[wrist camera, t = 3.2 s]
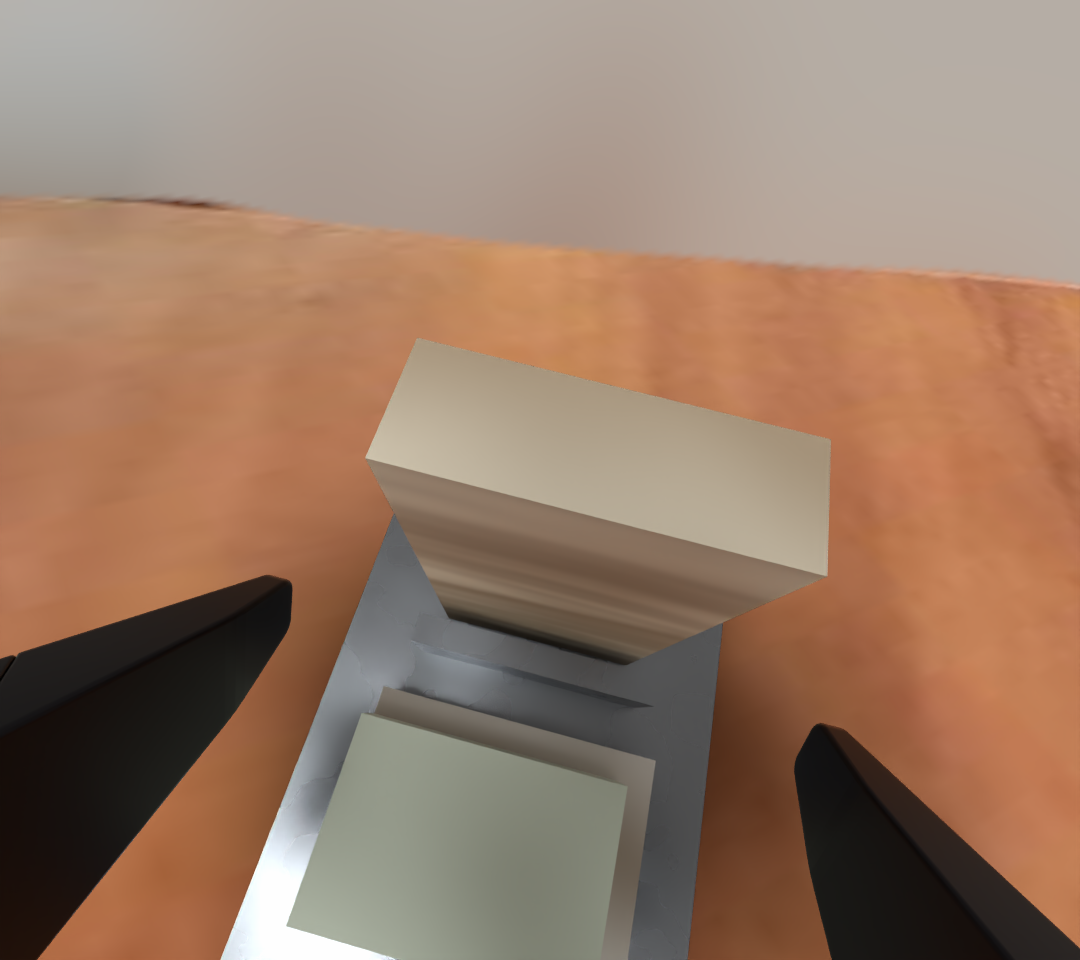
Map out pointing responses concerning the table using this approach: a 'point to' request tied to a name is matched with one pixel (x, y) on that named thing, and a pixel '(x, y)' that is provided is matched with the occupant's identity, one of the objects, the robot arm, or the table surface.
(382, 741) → the offcut upper
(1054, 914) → the table surface
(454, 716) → the offcut lower
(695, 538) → the birch block
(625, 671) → the offcut rack
